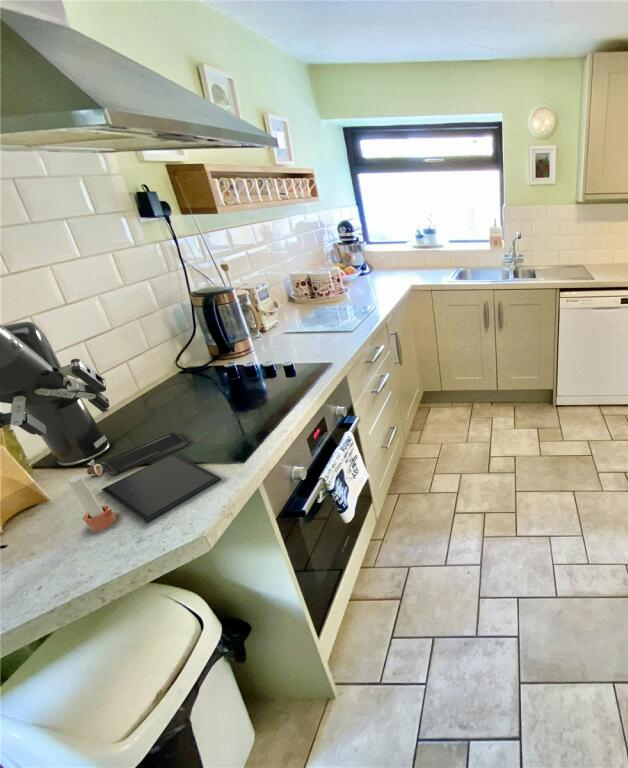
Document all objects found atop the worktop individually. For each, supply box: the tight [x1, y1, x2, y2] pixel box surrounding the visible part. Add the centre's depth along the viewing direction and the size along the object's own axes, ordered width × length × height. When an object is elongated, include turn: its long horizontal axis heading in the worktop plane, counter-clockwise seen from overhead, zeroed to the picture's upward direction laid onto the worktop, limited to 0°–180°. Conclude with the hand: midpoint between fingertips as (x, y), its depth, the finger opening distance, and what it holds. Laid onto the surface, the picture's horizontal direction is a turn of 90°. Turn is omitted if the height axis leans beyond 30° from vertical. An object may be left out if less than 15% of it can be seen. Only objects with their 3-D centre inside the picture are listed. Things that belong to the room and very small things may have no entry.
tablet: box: [101, 452, 222, 524], centre depth 90 cm, size 20×14×1 cm
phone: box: [101, 431, 188, 477], centre depth 100 cm, size 8×1×15 cm
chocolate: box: [86, 459, 104, 477], centre depth 94 cm, size 3×2×4 cm
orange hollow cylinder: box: [82, 505, 117, 532], centre depth 80 cm, size 4×4×3 cm
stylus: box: [67, 474, 104, 518], centre depth 77 cm, size 2×2×12 cm
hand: (75, 419), depth 70 cm, fingers open, 8 cm apart
